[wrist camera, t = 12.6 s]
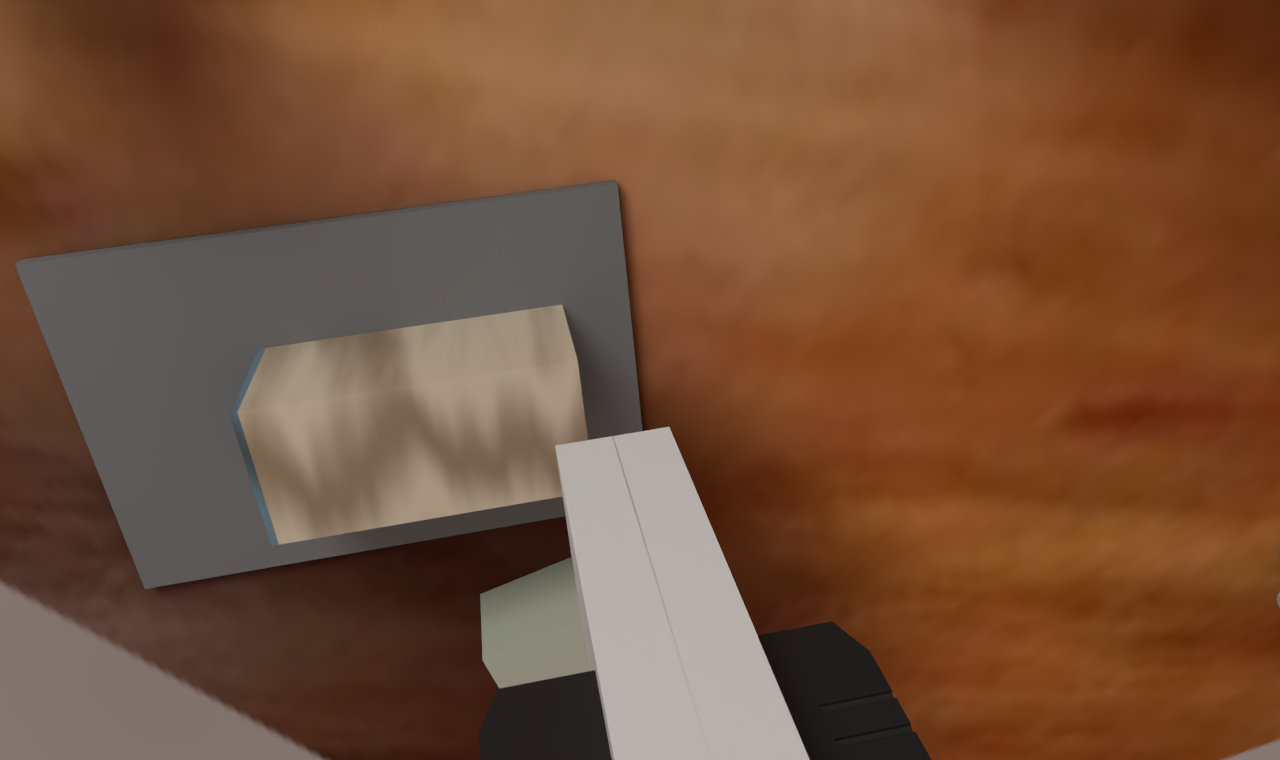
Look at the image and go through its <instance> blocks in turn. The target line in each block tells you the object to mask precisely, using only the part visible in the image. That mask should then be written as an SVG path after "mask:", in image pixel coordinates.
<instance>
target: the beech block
mask: <svg viewBox="0 0 1280 760" xmlns="http://www.w3.org/2000/svg"><path fill="white" fill-rule="evenodd" d="M229 415H230V418H231V421H232V425H233V428H234V431H235V434H236V437H237V440H238V443H239V447H240V450H241V453H242V456H243V459H244V462H245V465H246V468H247V472H248V475H249V478H250V481H251V484H252V487H253V490H254V494H255V497H256V500H257V503H258V506H259V509H260V512H261V515H262V519H263V522H264V525H265V528H266V531H267V534H268V537H269V541H270V544H271V546H275V545H281V544H286V543H292V542H298V541H304V540H310V539H316V538H322V537H328V536H333V535H339V534H345V533H351V532H357V531H363V530H369V529H374V528H380V527H386V526H392V525H398V524H404V523H410V522H416V521H421V520H427V519H433V518H439V517H445V516H451V515H457V514H463V513H468V512H474V511H480V510H486V509H492V508H498V507H504V506H510V505H515V504H521V503H527V502H533V501H539V500H545V499H551V498H557V497H562V496H563V495H562V488H561V482H560V475H559V468H558V462H557V455H556V448H555V446H556V445H562V444H568V443H574V442H580V441H586V440H588V436H587V428H586V421H585V413H584V405H583V398H582V390H581V382H580V375H579V367H578V360H577V356H576V352H575V349H574V345H573V342H572V338H571V334H570V331H569V327H568V324H567V320H566V316H565V313H564V309H563V305H555V306H548V307H541V308H534V309H528V310H521V311H514V312H507V313H500V314H494V315H487V316H480V317H473V318H467V319H460V320H453V321H446V322H439V323H433V324H426V325H419V326H412V327H405V328H399V329H392V330H385V331H378V332H371V333H365V334H358V335H351V336H344V337H337V338H331V339H324V340H317V341H310V342H303V343H297V344H290V345H283V346H276V347H269V348H263V349H259V350H258V352H257V354H256V356H255V358H254V361H253V363H252V365H251V367H250V369H249V371H248V374H247V376H246V378H245V380H244V382H243V384H242V386H241V389H240V391H239V393H238V395H237V397H236V399H235V402H234V404H233V406H232V408H231V410H230V412H229Z"/></svg>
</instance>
